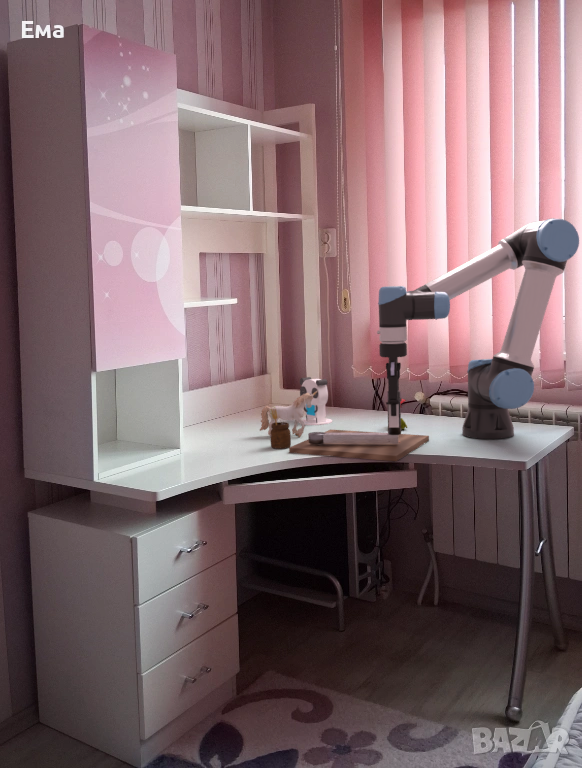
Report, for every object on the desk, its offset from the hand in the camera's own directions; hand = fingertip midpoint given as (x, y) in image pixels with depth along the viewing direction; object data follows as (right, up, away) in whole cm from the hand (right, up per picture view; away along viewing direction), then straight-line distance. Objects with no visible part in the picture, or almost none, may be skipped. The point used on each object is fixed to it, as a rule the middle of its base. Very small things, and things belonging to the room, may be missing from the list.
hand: (394, 425), depth 223 cm
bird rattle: (+5, -3, +33) cm, 33 cm away
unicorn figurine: (-29, -5, +29) cm, 41 cm away
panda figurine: (-21, -2, +49) cm, 54 cm away
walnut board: (-9, -6, +7) cm, 13 cm away
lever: (-11, -5, +3) cm, 12 cm away
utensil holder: (-32, -7, +11) cm, 34 cm away
